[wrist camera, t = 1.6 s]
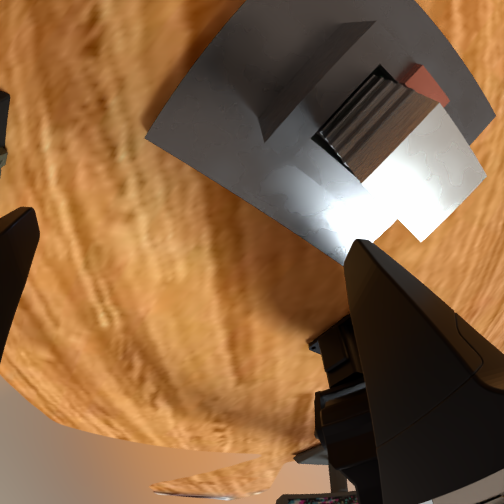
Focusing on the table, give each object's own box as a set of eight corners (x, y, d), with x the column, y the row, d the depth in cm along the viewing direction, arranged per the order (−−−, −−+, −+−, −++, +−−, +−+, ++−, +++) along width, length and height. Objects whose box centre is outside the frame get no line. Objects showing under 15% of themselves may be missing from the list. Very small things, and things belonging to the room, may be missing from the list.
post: (392, 110, 18) (488, 176, 10) (350, 154, 19) (420, 243, 12) (348, 66, 16) (439, 100, 8) (303, 114, 18) (359, 184, 10)
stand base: (488, 111, 18) (544, 144, 13) (341, 259, 26) (364, 319, 21) (323, -72, 11) (359, -108, 6) (148, 133, 19) (115, 174, 14)
